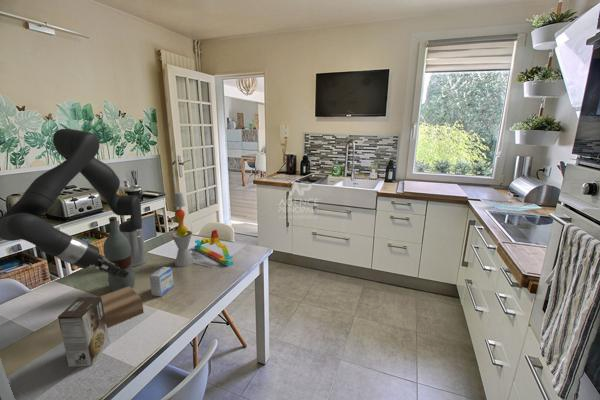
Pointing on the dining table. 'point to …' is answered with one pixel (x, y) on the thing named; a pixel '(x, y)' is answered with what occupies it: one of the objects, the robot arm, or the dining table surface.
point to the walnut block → (121, 306)
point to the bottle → (118, 256)
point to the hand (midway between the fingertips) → (121, 271)
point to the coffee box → (84, 331)
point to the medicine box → (161, 281)
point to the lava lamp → (181, 235)
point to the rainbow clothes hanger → (210, 253)
